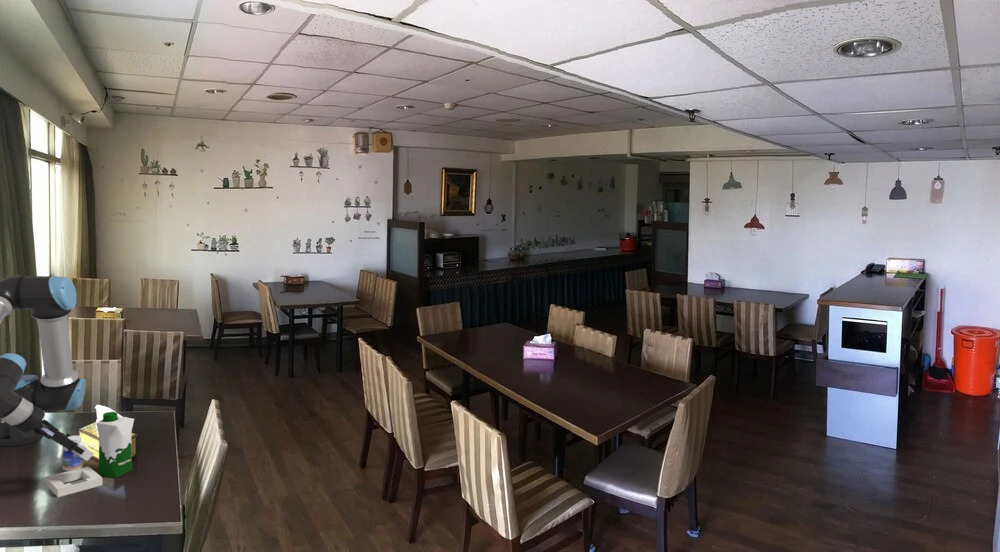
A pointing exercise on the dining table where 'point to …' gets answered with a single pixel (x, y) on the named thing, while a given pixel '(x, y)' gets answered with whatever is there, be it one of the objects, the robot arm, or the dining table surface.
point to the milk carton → (114, 445)
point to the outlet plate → (61, 489)
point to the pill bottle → (72, 456)
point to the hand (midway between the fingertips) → (86, 454)
